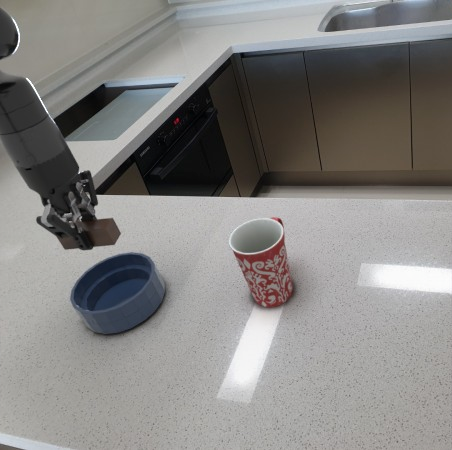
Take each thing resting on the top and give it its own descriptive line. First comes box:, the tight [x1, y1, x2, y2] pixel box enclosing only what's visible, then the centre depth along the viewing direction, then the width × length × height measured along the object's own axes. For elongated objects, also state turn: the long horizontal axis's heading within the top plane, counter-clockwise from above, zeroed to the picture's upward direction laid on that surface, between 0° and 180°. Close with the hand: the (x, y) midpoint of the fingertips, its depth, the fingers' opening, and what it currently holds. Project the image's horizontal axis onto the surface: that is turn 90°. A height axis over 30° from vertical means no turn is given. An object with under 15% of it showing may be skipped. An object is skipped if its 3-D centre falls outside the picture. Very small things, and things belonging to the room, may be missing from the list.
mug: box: [228, 216, 294, 308], centre depth 79 cm, size 13×9×14 cm
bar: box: [55, 217, 122, 251], centre depth 76 cm, size 9×3×3 cm, turn 86°
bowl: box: [69, 251, 166, 335], centre depth 85 cm, size 15×15×6 cm
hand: (92, 241), depth 76 cm, fingers closed on bar, 3 cm apart
